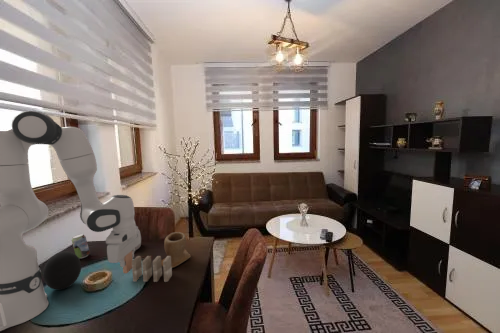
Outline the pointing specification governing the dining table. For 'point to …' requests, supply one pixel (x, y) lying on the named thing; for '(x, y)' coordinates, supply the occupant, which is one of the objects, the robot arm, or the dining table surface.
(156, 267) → the domino
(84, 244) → the beverage can
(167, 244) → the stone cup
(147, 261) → the domino
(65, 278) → the decorative egg
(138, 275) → the domino
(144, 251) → the dining table surface
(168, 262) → the domino
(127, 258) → the domino
